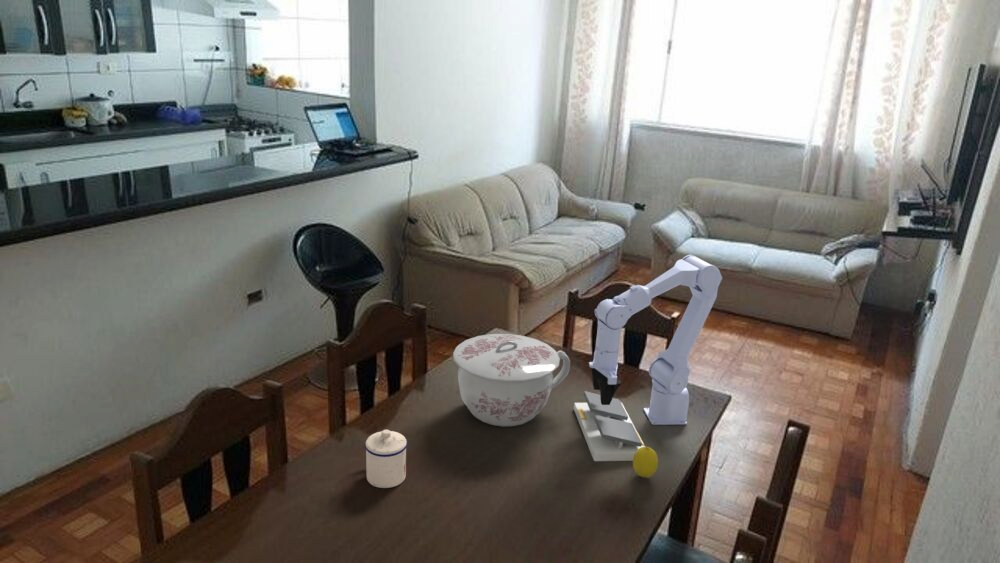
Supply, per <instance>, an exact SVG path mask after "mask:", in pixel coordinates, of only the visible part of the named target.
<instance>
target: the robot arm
mask: <svg viewBox="0 0 1000 563" xmlns="http://www.w3.org/2000/svg"><path fill="white" fill-rule="evenodd" d="M722 280H723V276H722V274H721V272H720V269H719V268H718V267H717V266H716V265H713V264H711V263H708V262H707V261H705V260H703V259H701V258H699V257H698V256H696V255H694V254H687V255H685V256H684V257H682V259H681V258H680V259H678V260H676V261H675V264H674V265H673V267H671V268H670V269H668V270H667V271H665V272H664V273H662V274H660V275H659V276H658V277H656V278H655V279H653V280H652V281H650V282H649V283H647V284H646V285H640V284H636V285H631V286H630V287H629V289H627V290H626V291H624V292H622V293H620V294H619V295H616V296H614V297H613V298H612V299H610V298H606V299H603V300H602V301H600V302H599V303H598V305H597V307H596V308H595V309H594V315H595V317H596V318H597V328H596V329H597V330H596V339H595V348H594V352H593V360H590V361H588V367H589V369H590V372H591V377H592V378H591V379H592V387H593V389H594V391H595V390H596V391H599V392H600V394H599V395H600V398H601V404H602V405H610V403H611V401H612V398H614V396H615V394H616V392H617V390H618V389H619V388H620V387H621V385H622V382H621V379H618V376H617V374H618V373H617V372H618V368H619V367H618V366H619V365H618V361H619V360H618V359H619V353H620V345H621V344H620V342H621V335H622V328H623V327H624V326H625V325H626V324H627V322H628V320H629V319H630V318H631V317H632V316H634V314H636V313H639V312H640V311H642V310H644V309H645V308H647V307H649V306H650V305H651V302H652V299H654V298H655V297H657V296H660V295H662V294H664V293H665V292H667V291H669V290H672V289H674V288H675V287H678V286H684V287H689V289H690V292H691V294H692V296H691V298H690V300H689V302H688V304H687V307H686V309H685V311H684V313H683V315H682V317H681V320H680V322H679V324H678V326H677V327H676V328H677V329H676V330H675V332H674V334H673V337H672V338H671V341H670V342H669V345H668V348H667V349H665V350H662V351H659V353H658V354H657V356H656V358H655V359H654V360H653V361H652V362H651V363H650V364H649V367H648V374H649V376H650V377H651V378H652V379H651V382H652V387H651V394H650V401H649V407H643V411H644V413H645V415H646V416H647V418H648V420H649V422H650V423H651V425H653V426H655V425H658V426H659V425H661V426H664V425H668V426H670V425H673V426H674V425H687V424H688V422H687V418H688V411H689V404H690V395H689V394H690V393H689V390H688V388H687V385H688V384H689V383H688V382H689V376H690V373H691V370H692V369H691V366H690V363H689V359H688V358H689V356H690V355H691V352H692V350H693V348H694V345H695V343H696V341H697V340H698V337H699V335H700V334H701V331H702V329H703V326H704V325H705V323H706V320H707V319H708V316H709V314H710V312H711V310H712V308H713V306H714V304H715V302H716V300H717V296H718V290H719V286H720V284H721V282H722Z"/></svg>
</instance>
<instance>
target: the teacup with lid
mask: <svg viewBox="0 0 1000 563" xmlns="http://www.w3.org/2000/svg"><path fill="white" fill-rule="evenodd" d="M364 448H365V455H366V456H365V457H366V458H365V464H366V468H365V469H366V480H367V482H368V483H369V484H370V485H372V486H373V487H376V488H379V489H380V488H381V489H389V488H394V487H397V486H399V485H401V484H402V483H403V482H404V481H405V479H406V476H407V448H408V440H407V439H406V437H405V436H404V435H403V434H402V433H400V432H398V431H394V430H389V429H383V430H382V431H377V432H375V433H373V434H371V435H369V436H368V437H367V439H366V441H365V444H364Z"/></svg>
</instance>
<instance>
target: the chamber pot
mask: <svg viewBox="0 0 1000 563" xmlns="http://www.w3.org/2000/svg"><path fill="white" fill-rule="evenodd" d="M452 356H453V357H452V358H453V361H454V363H455V364H456V365H457V366H458V370H457V381H458V387H459V393H460V398H461V400H462V402H463V403H464V405H465V406H466V408H467V410H468V411H470V413H471V415H473V417H475V418H476V419H477V420H479V421H480V422H482V423H485V424H488V425H491V426H494V427H495V426H497V427H515V426H521V425H524V424H526V423H527V422H530V421H532V420H533V419H534V418H535V417H536V416H537V415H538V414H539V413H540V412H541V411H542V410H543V408H544V407H545V406H546V405H547V404H548V400H549V397H550V394H551V391H552V390H553V389H554V388H556V387H557V386H558V385H559V384H561V383H562V382H563V381H564V380H565V378H566V377H567V376H569V372H570V370H571V360H570V358H569V355H567V354H566V352H565V351H563V350H557V351H556V350H555V348H553V347H552V346H550V345H549V344H547V343H545V342H543V341H541V340H539V339H537V338H533V337H529V336H525V335H520V334H512V333H490V334H483V335H477V336H474V337H471V338H468V339H465V340H464V341H462V342H461V343H459V344H458V345H457V346H456V347H455V349H454V351H453V353H452ZM561 360H562V366H561V370H560V371H559V372H558V373H557V375H556V376H555V377H554V375H553V373H554V371H556V370H557V369H558V368H559V367H560V362H561Z"/></svg>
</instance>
